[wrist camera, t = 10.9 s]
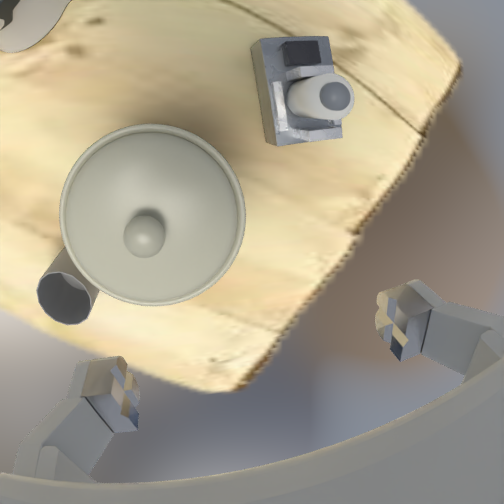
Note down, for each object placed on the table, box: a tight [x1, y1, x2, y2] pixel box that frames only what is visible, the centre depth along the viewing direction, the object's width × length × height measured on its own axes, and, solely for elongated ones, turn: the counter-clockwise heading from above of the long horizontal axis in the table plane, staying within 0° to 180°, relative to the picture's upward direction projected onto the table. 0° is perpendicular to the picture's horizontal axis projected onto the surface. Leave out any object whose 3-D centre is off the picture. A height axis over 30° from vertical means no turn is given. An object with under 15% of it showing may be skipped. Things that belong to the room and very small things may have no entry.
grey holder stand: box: [251, 36, 342, 146], centre depth 35 cm, size 14×9×11 cm, turn 9°
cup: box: [36, 247, 99, 325], centre depth 40 cm, size 8×8×10 cm
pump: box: [286, 73, 354, 120], centre depth 31 cm, size 5×5×9 cm
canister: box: [59, 124, 246, 306], centre depth 33 cm, size 18×18×21 cm
